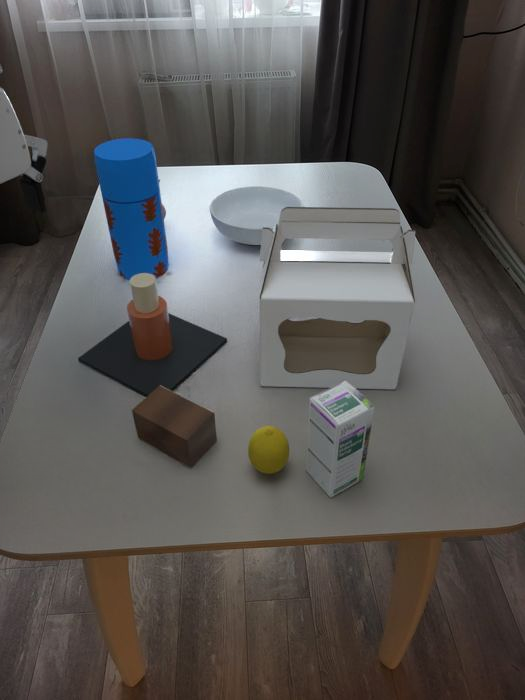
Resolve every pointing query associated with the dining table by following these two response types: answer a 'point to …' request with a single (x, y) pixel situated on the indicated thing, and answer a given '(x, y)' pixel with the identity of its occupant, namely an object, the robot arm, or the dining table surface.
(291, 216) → the gable box
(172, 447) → the block
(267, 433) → the lemon
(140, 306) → the two-tone stacked cylinder
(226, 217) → the serving bowl
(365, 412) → the syrup box
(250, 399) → the dining table surface
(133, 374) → the mat
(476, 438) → the dining table surface
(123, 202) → the thermos
